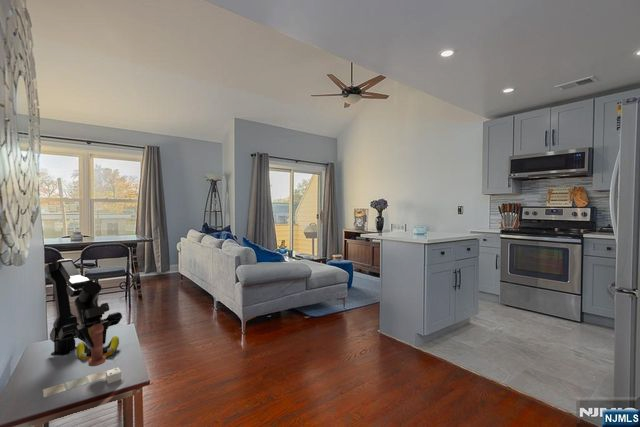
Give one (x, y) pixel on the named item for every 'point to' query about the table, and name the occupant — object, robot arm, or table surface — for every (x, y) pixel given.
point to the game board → (73, 383)
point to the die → (113, 375)
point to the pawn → (97, 345)
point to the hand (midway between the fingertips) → (98, 345)
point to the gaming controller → (107, 351)
